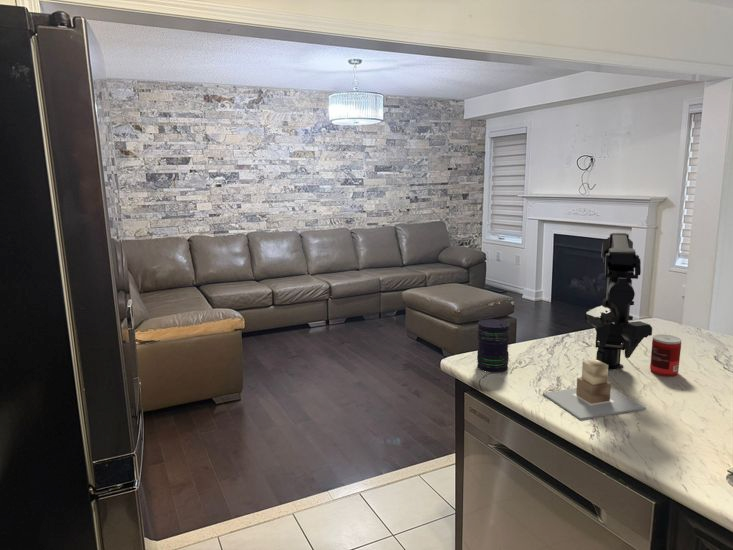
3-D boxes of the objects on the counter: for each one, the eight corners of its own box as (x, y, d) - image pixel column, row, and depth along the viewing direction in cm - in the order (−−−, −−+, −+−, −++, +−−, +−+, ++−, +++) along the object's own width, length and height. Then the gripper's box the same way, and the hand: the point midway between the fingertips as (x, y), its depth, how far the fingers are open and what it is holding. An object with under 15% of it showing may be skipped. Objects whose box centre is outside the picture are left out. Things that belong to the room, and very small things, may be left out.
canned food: (674, 368, 160) (678, 335, 157) (681, 378, 152) (684, 343, 150) (647, 366, 162) (650, 333, 160) (652, 375, 155) (655, 341, 153)
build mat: (602, 385, 148) (602, 384, 148) (645, 409, 133) (645, 407, 133) (542, 394, 143) (542, 392, 143) (580, 419, 128) (580, 418, 128)
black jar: (470, 366, 165) (471, 322, 162) (490, 359, 171) (491, 316, 168) (495, 375, 157) (496, 329, 154) (514, 368, 163) (516, 323, 160)
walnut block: (594, 391, 143) (595, 375, 142) (609, 400, 137) (611, 383, 136) (576, 394, 141) (577, 377, 140) (590, 403, 135) (592, 386, 134)
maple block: (595, 376, 141) (596, 359, 140) (607, 382, 136) (608, 365, 135) (581, 378, 139) (582, 361, 138) (593, 384, 135) (594, 367, 134)
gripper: (570, 291, 142) (567, 344, 145) (619, 307, 124) (614, 367, 127) (603, 288, 145) (600, 340, 148) (656, 303, 127) (651, 362, 130)
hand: (614, 352), depth 138 cm, fingers open, 9 cm apart
